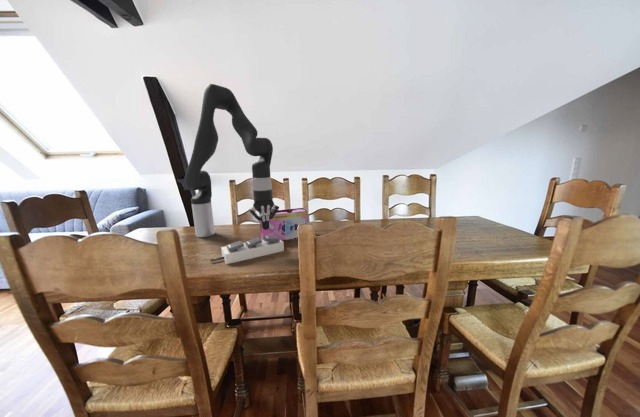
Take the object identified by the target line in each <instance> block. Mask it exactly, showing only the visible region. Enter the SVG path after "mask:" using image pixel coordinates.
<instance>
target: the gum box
mask: <svg viewBox="0 0 640 417" xmlns="http://www.w3.org/2000/svg"><path fill="white" fill-rule="evenodd" d="M271 211H272V210H271ZM271 211H270V213H271ZM308 211H309V210H307V209H306V208H305V207H297V208H290V209H289V208H288V209H286V208H285V209H278V211H277V212H276V214H275V216H274V217H273V219H270V220H269V228H268V229H267V230H264V229H263V228H262V224H261V221H259V220H258V222H259V227H260V228H259V229H260V234H261V235H260V237H261V238H260V239H263V236H277V237H278V238H279V239H280V240H281V241H288V240H294V238H296V239H298V238H297V227H298V225H299V224H300V223H305V224H308V225H309V212H308ZM258 216H259V217H260V214H259V213H258Z"/></svg>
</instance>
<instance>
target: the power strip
mask: <svg viewBox="0 0 640 417" xmlns="http://www.w3.org/2000/svg"><path fill="white" fill-rule="evenodd" d="M260 239H261V240H262V243H260V244H257V245H255V246H252V247H250V248H248V247H247V246H246V245H245V242H242V243H243V244H244V247H241V248H238V249H236V250H233V251H230V252H229V251H228V249H227V248H226V245H225V246H221V247H220V249H221V250H220V252H221V257H216V258H211V259H209V260H210V263H212V262H217V261H221V260H222V261H224V262H225V264H226V265H230V264H233V263H238V262H241V261H246V260H247V261H248V260H251V259H255V258H260V257H263V256H269V255H273V254H277V253H282V252H284V251H285V245H284V244H285V243H284V240H280V242H266V241H265V240H264V239H262V238H260Z"/></svg>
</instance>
